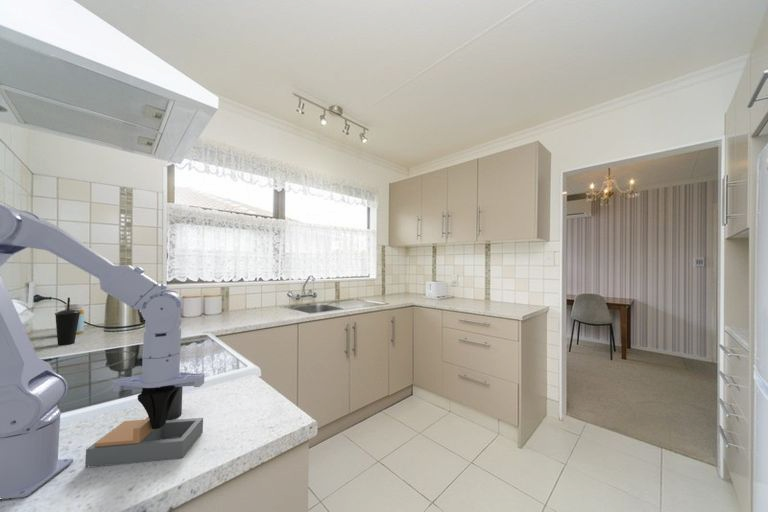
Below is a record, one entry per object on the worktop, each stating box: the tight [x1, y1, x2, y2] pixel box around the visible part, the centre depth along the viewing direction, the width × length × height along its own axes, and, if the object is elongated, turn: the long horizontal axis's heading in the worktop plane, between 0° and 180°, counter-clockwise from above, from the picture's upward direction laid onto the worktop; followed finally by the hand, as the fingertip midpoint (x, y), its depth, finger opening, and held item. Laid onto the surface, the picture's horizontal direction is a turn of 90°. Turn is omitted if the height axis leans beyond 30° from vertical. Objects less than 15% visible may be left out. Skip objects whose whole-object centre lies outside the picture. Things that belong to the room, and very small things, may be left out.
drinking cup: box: [54, 297, 81, 346], centre depth 122 cm, size 8×8×20 cm
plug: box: [166, 387, 184, 420], centre depth 65 cm, size 4×4×8 cm
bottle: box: [64, 302, 85, 335], centre depth 139 cm, size 7×7×15 cm
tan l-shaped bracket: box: [94, 416, 154, 447], centre depth 53 cm, size 7×7×3 cm
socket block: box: [84, 417, 204, 468], centre depth 53 cm, size 15×8×3 cm, turn 100°
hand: (158, 426), depth 54 cm, fingers closed
